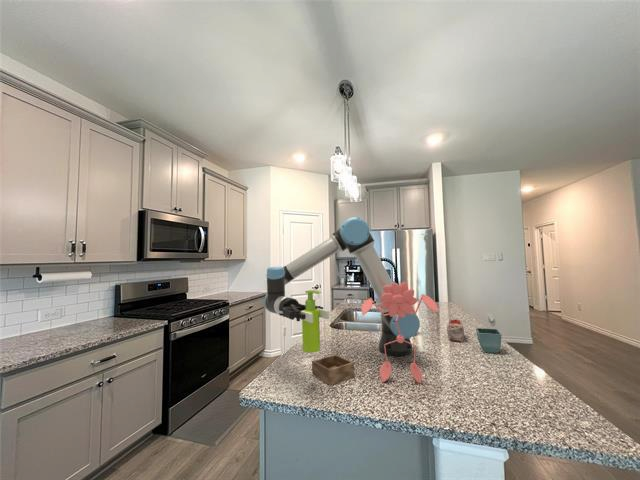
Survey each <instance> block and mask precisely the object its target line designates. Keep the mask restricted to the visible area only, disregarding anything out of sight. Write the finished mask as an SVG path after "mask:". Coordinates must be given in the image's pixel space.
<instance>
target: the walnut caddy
mask: <svg viewBox="0 0 640 480" xmlns="http://www.w3.org/2000/svg"><path fill="white" fill-rule="evenodd" d="M311 372H312V373H311V374H312V376H314V377H315V378H317V379H319V380H320V381H322V382H323V383H325V384H327V385H328V386H333V385H336V384H339V383H341V382H343V381H346V380H349V379H352V378H355V363H354V362H353V361H351V360H348V359H347V358H344V357H342V356H341V355H338V354H332V355H328V356H324V357H322V358H317V359H313V360H311Z"/></svg>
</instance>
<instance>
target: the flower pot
mask: <svg viewBox="0 0 640 480" xmlns="http://www.w3.org/2000/svg"><path fill="white" fill-rule="evenodd" d="M475 332H476V337H477V341H478V344H479V346H480V347H481V350H482V351H483V352H484V353H491V354H498V353H499V351H500V350H501V347H502V338H503V337H502V335H503V334H502V333H501V332H500V331H499V330H498V329H497V328H485V327H484V328H483V327H481V328H480V327H476V328H475Z"/></svg>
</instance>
